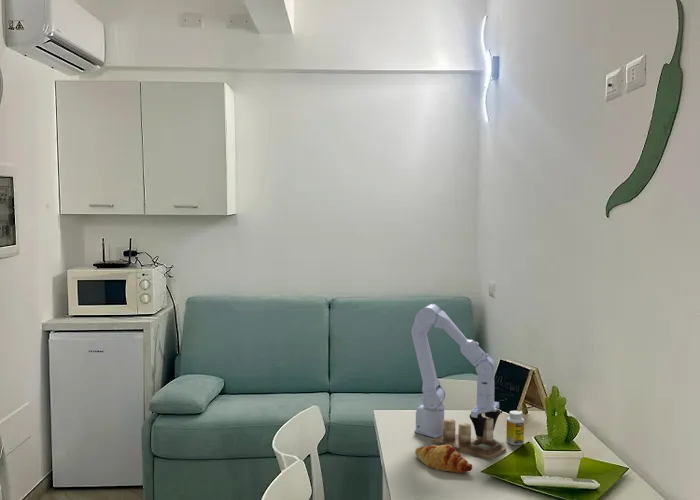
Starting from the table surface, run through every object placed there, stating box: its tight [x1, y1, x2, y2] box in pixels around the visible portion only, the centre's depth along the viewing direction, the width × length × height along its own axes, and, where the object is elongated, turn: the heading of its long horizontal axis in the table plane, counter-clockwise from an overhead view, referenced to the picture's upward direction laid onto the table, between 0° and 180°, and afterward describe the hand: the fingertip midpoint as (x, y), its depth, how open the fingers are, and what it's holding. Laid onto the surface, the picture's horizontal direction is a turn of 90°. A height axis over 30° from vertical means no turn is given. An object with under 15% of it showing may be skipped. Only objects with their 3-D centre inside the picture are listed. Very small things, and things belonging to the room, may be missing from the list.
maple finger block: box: [475, 415, 494, 441], centre depth 219 cm, size 4×4×7 cm
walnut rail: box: [431, 418, 507, 461], centre depth 211 cm, size 22×10×7 cm, turn 47°
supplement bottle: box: [505, 410, 525, 446], centre depth 215 cm, size 6×6×10 cm
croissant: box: [414, 444, 473, 474], centre depth 196 cm, size 21×10×8 cm, turn 45°
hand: (484, 433), depth 218 cm, fingers open, 6 cm apart
